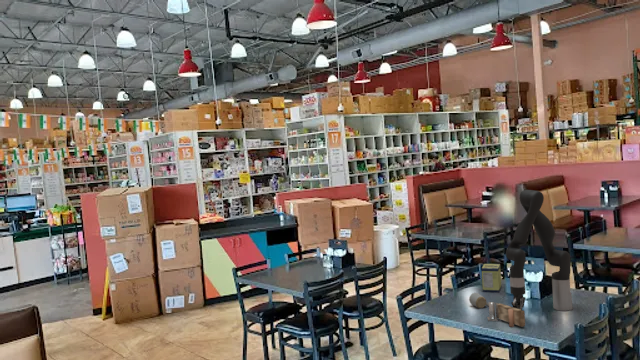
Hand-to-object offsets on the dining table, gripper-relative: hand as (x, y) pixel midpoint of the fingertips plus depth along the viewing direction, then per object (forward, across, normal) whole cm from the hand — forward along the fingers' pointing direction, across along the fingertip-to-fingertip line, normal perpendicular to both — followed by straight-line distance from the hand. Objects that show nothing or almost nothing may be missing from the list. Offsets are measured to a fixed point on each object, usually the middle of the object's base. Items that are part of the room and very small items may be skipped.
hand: (519, 316), depth 283 cm
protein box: (+3, +51, +40) cm, 65 cm away
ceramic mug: (+3, +14, +30) cm, 33 cm away
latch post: (+2, -10, 0) cm, 10 cm away
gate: (+1, -7, +3) cm, 7 cm away
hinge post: (+2, -5, +13) cm, 14 cm away
